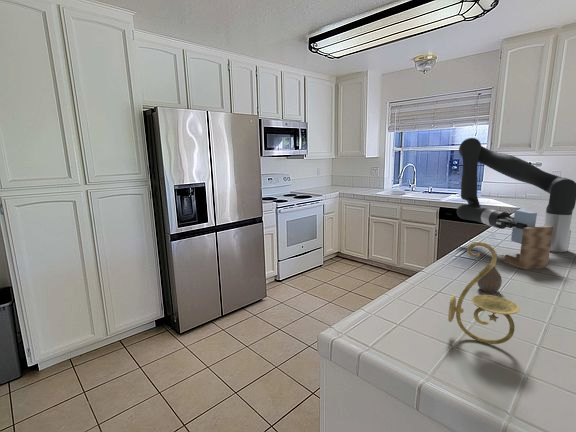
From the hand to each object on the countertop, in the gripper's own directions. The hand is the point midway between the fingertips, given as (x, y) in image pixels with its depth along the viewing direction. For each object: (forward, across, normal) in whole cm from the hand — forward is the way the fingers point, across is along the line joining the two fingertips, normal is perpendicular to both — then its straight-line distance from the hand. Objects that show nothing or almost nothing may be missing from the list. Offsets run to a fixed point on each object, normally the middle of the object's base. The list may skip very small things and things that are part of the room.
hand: (530, 227), depth 127 cm
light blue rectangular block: (-3, 0, +7) cm, 8 cm away
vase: (+17, -33, +16) cm, 41 cm away
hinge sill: (-3, 0, +16) cm, 16 cm away
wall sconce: (+42, -58, +16) cm, 73 cm away
